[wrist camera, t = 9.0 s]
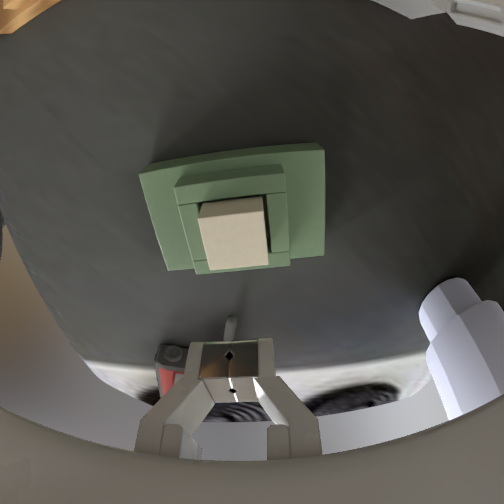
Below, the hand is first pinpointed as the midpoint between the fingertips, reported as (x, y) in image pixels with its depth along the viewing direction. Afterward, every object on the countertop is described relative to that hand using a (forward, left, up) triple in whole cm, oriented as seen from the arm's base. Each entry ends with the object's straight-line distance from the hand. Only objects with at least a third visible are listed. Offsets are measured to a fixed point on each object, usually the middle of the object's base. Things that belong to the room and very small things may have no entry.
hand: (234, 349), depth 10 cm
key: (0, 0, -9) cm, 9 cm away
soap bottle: (+22, -14, -13) cm, 29 cm away
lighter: (+14, +15, -13) cm, 24 cm away
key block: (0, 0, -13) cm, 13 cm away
